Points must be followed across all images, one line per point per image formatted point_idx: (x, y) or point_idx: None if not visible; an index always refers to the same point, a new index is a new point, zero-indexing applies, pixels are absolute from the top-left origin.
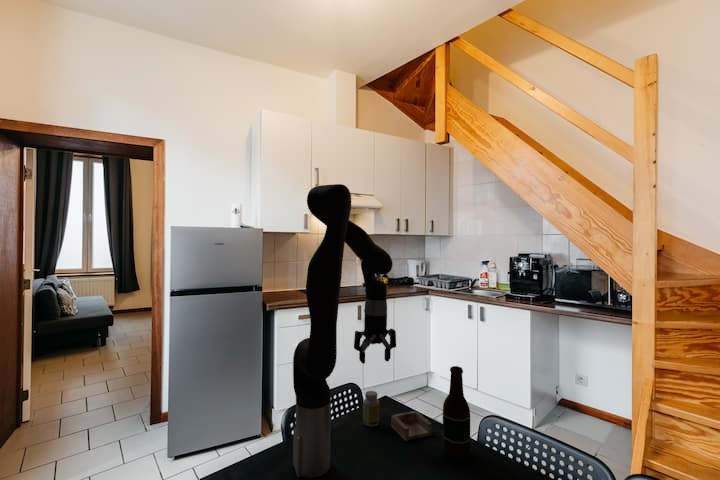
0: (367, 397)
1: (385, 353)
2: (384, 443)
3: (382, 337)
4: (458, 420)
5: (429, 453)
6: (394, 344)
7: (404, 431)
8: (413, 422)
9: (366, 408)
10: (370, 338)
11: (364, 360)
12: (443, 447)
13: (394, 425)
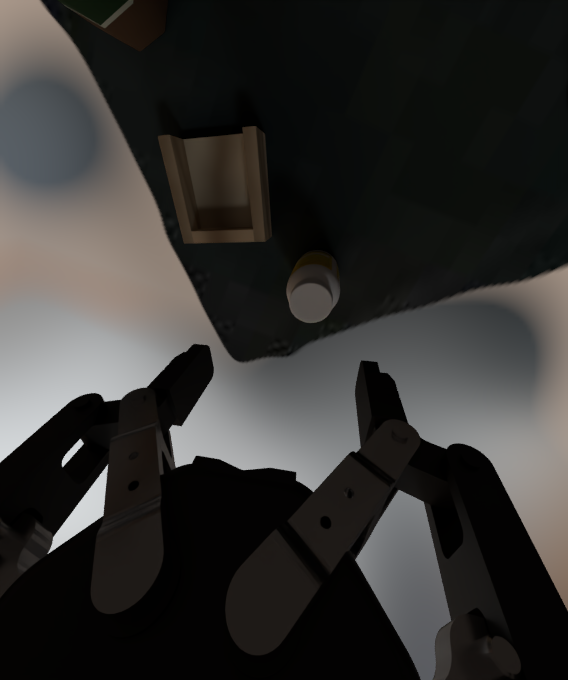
0: (330, 291)
1: (192, 392)
2: (331, 141)
3: (129, 525)
4: None
5: (219, 13)
6: (71, 415)
7: (259, 137)
8: (209, 217)
9: (336, 275)
10: (327, 566)
11: (369, 371)
12: (162, 7)
13: (268, 215)
